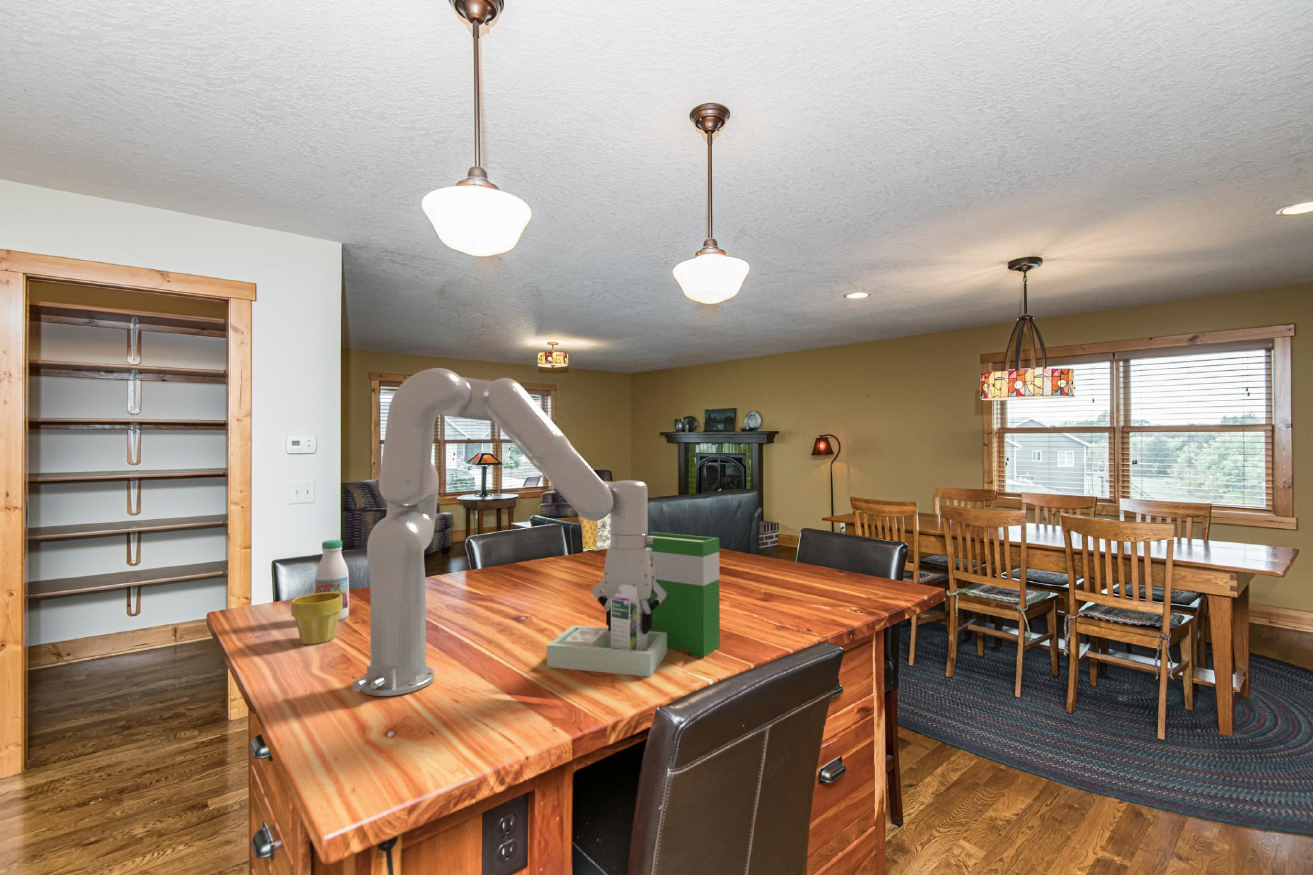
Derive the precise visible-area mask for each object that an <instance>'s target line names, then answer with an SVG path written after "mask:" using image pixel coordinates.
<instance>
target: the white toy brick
mask: <svg viewBox="0 0 1313 875" xmlns="http://www.w3.org/2000/svg"><path fill="white" fill-rule="evenodd" d="M564 644H565V645H576V646H588V647H600V648H606V631H605V630H597V629H593V630H592V629H585V628H583V629H578V630H577V631H576V632H574V633H573V634H572V635H571V636H569V637H568V638H567V639H566V640H564Z"/></svg>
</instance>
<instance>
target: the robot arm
mask: <svg viewBox="0 0 1313 875" xmlns="http://www.w3.org/2000/svg"><path fill="white" fill-rule="evenodd" d="M439 415H441V416H445V417H449V418H450V417H451V418H452V417H453V418H461V419H468V420H469V419H470V420H476V421H483V422H484V421H485V422H494V423H495V424H496V425H497V426H498V427H499V428H500V430H502V432H503V433H504V434H505V435H506V436H507V437H508V438H509V440H510V441H511V442H512V443H513V444H514V445H515V447H516V448H517V449H518V450H519V451H520V452H521V453H522V454H523V456H524V457H525V458H526V459H527V460H528V461H529V462H530V463H531V465H532V466H533V467H534V468H535V469H536V470H538V471H539V472H540V473H541V474H542V475H543V476H544V477H545V478H546V479H547V480H548V481H549V483H551V485H552V486H553V487H554V488H555V490H557V491H558V493H559V494H560V495H561V496H562V497H563V498H564V499H565V501H566V502H567V503H568V504H569V505H570V506H571V508H572V509H573V510H574V511H575V512H576V513H577V515H579V517H581V518H582V519H583V520H587V521H588V522H598V521H600V520H603V519H605V518H607V517H608V515H610V520H609V521H610V522H609V523H610V524H609V525H610V547H608V548H607V551H606V555H605V561H604V567H603V576H602V577H603V579H601V581H600V582H599V583H598V584H596V585H595V586H594V587H593V588H592V589H591V594H592V595H593V596H594V597H595V598H596V599H597V601H598V603H599V604H600V605H601V606H602V607H603V610H604V611H605V613H606V615H605V616H606V617H605V618H606V619H605V620H606V622H605V625H606V626H607V628H608V631H611V597H613V596H614V595H615V593H616V592H617V590H618V589H619V587H620V586H621V585H636V586H637V596H638V600H640V601H641V604H642V606H643V609H644V613H643V615H642V633H643V634H647V633H648V631H649V630H650V629H651V628H652V611H653V610H654V609H655V608H656V607H657V606H658V605H659V604H660V603H661V602H662V601H663V600H664V599H665V598H666V597H667V595H668V594H667V592H666V591H665V590H664V589H663V588H662V587H661V586H660V585H659V584H658V583H657V582H656V579H655V567H654V558H653V553H652V548H648V545H649V544H654V541H655V539H654V537H651V536H650V534H649V532H648V523H649V522H648V501H649V500H648V486H647V485H648V484H646V483H645V481H641V480H631V479H630V480H616V481H606V480H602V479H601V478H600V476H599V475H598V474H597V473H596V472H595V471H594V469H593V468H591V466H590V465H589V464H588V462H586V460H585V459H584V458H583V457H582V456H581V455H580V453H579V452H578V451H577V450H576V448H574V447H573V445H572V444H571V442H570V440H569V439H568V438H567V436H566V435H565V434H564V433H563V432H562V430H561V429H560V428H559V427H558V425H556V424H555V422H554V421H553V420H552V419H551V418H550V417H549V415H548V414H547V413H546V412H545V410H543V409H542V407H541V406H540V405H539V404H538V403H537V402H536V401H535V399H534V398H533V397H532V396H531V395H530V393H528V391H527V390H526V389H525V388H524V387H523V386H522V385H521V384H520V383H519V382H518V381H516V380H514V379H512V378H509V377H500V378H498V379H495V380H486V379H484V380H483V379H477V378H469V377H464V376H460V375H459V374H457V373H456V372H455V371H453V370H450V369H447V368H444V367H442V368H441V367H434V368H429V369H424V370H421V371H419V372H417V373H415V374H413V375H411V376H410V377H408V378H407V379H405V380H404V381H403V382H401V385H399V386H398V387H397V389H396V391H395V392H394V394H393V396H392V398H391V401H390V404H389V407H388V412H387V417H386V427H385V434H384V442H383V447H382V456H381V457H382V458H381V464H380V472H379V478H378V488H379V489H378V490H379V492H380V495H381V497H382V498H383V499H384V500H385V501H386V502H387V504H386V514H385V517H384V518H382V519H381V520H379V521H378V522H377V523H376V524H375V525H374V526H373V528H372V530H371V531H370V533H369V536H368V538H367V547H366V549H367V550H366V555H367V563H368V564H367V565H368V572H369V589H370V590H369V592H370V593H369V594H370V596H369V598H370V600H369V602H370V607H369V608H370V609H369V610H370V613H369V614H370V619H369V620H370V622H369V623H370V625H369V629H370V630H369V631H370V633H369V634H370V639H369V640H370V642H369V646H370V647H369V649H370V655H369V656H370V658H369V660H370V665H367V667H366V673H365V674H364V675H363V676H362V677H359V678H358V679H356V680H354V681H353V682H352V684H351V689H352V691H353V692H355V693H358V692H360V691H362V692H363V693H364V694H366V695H370V696H373V697H374V696H376V697H392V696H393V697H394V696H400V695H405V694H410V693H412V692H416V691H419V690H420V689H423V688H426V687H427V686H429V685H430V684H431V683H432V682H433V681H434V680H435V670H434V669H433V668H432V667H430V666H427V665H426V664H427V663H426V662H427V661H426V660H427V659H426V653H427V652H426V651H427V649H426V648H427V647H426V644H427V643H426V642H427V641H426V640H427V638H426V636H427V628H426V626H427V625H426V624H427V623H426V622H427V620H426V619H427V618H426V616H427V611H426V610H427V608H426V607H427V603H426V600H427V599H426V598H427V597H426V596H427V595H426V593H427V592H426V586H427V585H426V567H425V550H426V549H427V548H428V547H429V546H430V544H431V542H432V541H433V537H434V534H435V525H436V516H437V506H438V498H439V496H438V495H439V488H440V487H439V486H440V480H439V478H440V477H439V474H438V470H437V468H436V466H435V465H434V464H433V463H432V454H433V445H434V438H435V423H436V420H437V418H438V416H439ZM602 590H603V591H602ZM655 592H656V593H657V594H658V597H657V598H656V599H655V600H654V601H653V602H652V601H651V599H650V597H651V595H653V594H655Z"/></svg>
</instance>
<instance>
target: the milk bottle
mask: <svg viewBox="0 0 1313 875" xmlns="http://www.w3.org/2000/svg"><path fill="white" fill-rule="evenodd" d="M342 550H343V541H342V540H341V539H335V540H334V539H333V540H332V539H331V540H325V541H322V543H321V551H322V557H321V559H320V562H319V563H318V566H317V568H316V571H315V578H314V594H316V593H327V592H335V593H340V594H342V597H343V607H342V610H341V611H339V616H338V621H342V620H344V619H346V618H348V617H349V614H350V613H349V612H350V588H349V587H350V582H349V581H350V580H349V578H350V576H349V568H348V565H347V562H346V561H345V559H344V557H343V553H342Z"/></svg>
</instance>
